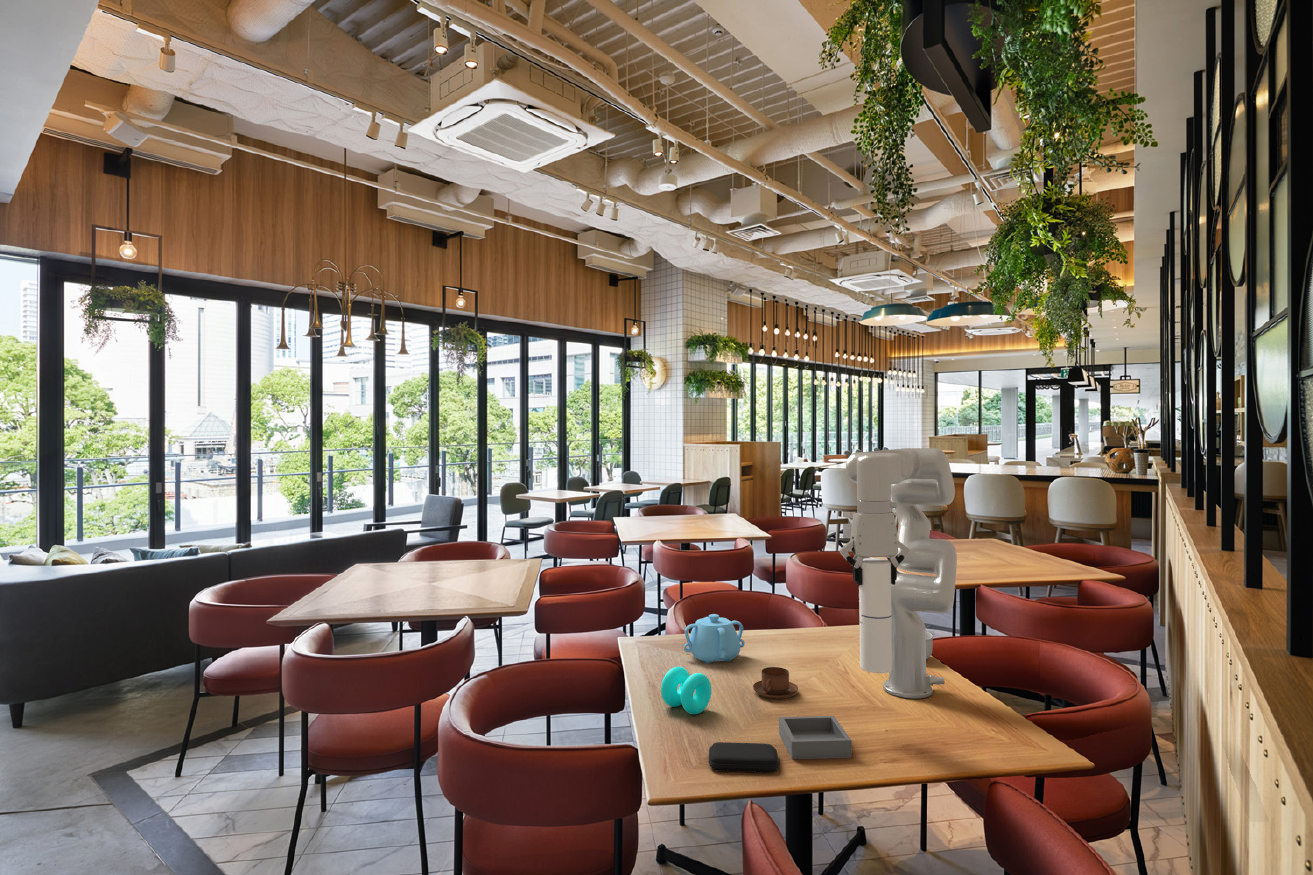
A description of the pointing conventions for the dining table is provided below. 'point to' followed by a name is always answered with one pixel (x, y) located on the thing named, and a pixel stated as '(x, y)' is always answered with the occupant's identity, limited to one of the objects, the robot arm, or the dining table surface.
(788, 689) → the cup and saucer
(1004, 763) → the dining table surface
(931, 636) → the teacup
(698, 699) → the turquoise double ring spool
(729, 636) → the decorative pot
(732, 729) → the dining table surface
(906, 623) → the robot arm
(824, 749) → the holder tray
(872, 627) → the cylindrical container
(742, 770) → the carrying case or bag
